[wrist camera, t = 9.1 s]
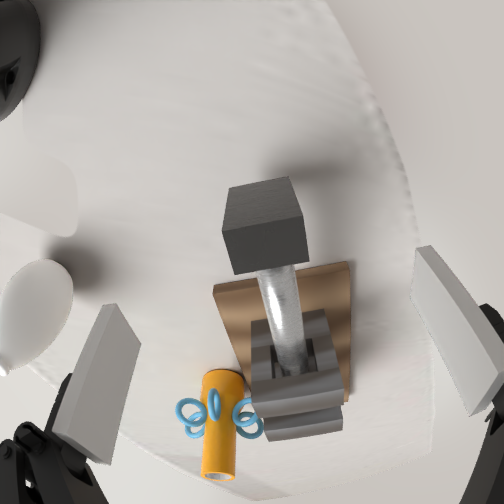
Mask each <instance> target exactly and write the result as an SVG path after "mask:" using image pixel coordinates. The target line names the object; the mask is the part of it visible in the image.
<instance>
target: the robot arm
mask: <svg viewBox="0 0 504 504" xmlns="http://www.w3.org/2000/svg"><path fill="white" fill-rule="evenodd" d="M39 47H40V25H39V19H38V16H37V13H36V11H35V8H34V7H33V5H32V4H31V3H30V2H29V1H28V0H0V121H2V120H3V119H5V118H6V117H7V116H8V115H9V114H11V112H12V111H13V110H14V109H15V108H16V107H17V105H18V104H19V102H20V101H21V99H22V98H23V96H24V94H25V92H26V91H27V88H28V86H29V84H30V82H31V79H32V77H33V74H34V71H35V67H36V64H37V59H38V54H39ZM410 299H411V301H412V302H413V304H414V306H415V308H416V309H417V311H418V313H419V315H420V317H421V318H422V320H423V322H424V324H425V326H426V328H427V329H428V331H429V333H430V335H431V337H432V339H433V341H434V343H435V344H436V346H437V348H438V350H439V352H440V354H441V356H442V358H443V360H444V362H445V364H446V366H447V369H448V371H449V373H450V375H451V377H452V379H453V381H454V383H455V386H456V388H457V390H458V392H459V394H460V397H461V399H462V401H463V403H464V406H465V408H466V410H467V412H468V415H469V417H470V416H472V415H474V414H476V413H479V412H481V411H483V410H485V409H486V408H487V407H488V405H489V404H490V403H491V401H492V402H493V404H494V408H493V410H492V411H491V412H490V414H489V415H488V416H487V418H486V420H485V422H487V421H488V420H489V419H490V422H489V426H488V429H487V432H486V436H485V439H484V442H483V445H482V448H481V451H480V454H479V457H478V460H477V462H476V465H475V468H474V471H473V473H472V476H471V478H470V480H469V483H468V485H467V488H466V490H465V492H464V495H463V497H462V499H461V501H460V503H459V504H504V320H503V319H502V317H501V316H500V314H499V313H498V312H497V311H496V310H495V309H494V308H492V307H491V306H490V305H488V304H484V305H481V306H478V305H477V304H476V302H475V301H474V299H473V298H472V297H471V295H470V294H469V293H468V291H467V290H466V289H465V287H464V286H463V285H462V283H461V282H460V281H459V280H458V278H457V277H456V276H455V274H454V273H453V272H452V270H451V269H450V268H449V267H448V265H447V264H446V263H445V262H444V260H443V259H442V258H441V257H440V256H439V255H438V253H437V252H436V251H435V250H434V248H433V247H432V246H431V245H429V246H424V247H420V248H416V250H415V260H414V270H413V278H412V286H411V293H410ZM140 347H141V343H140V341H139V340H138V338H137V337H136V335H135V333H134V332H133V330H132V329H131V327H130V325H129V324H128V322H127V320H126V319H125V317H124V315H123V314H122V312H121V310H120V309H119V307H118V305H117V304H116V303H114V304H108V305H103V306H102V308H101V310H100V312H99V314H98V317H97V319H96V321H95V323H94V325H93V327H92V330H91V332H90V334H89V336H88V338H87V341H86V343H85V345H84V348H83V350H82V352H81V355H80V357H79V359H78V362H77V364H76V366H75V369H74V371H73V373H69V374H68V376H67V377H66V378H65V379H64V381H63V382H62V384H61V387H60V389H59V392H58V393H59V394H58V395H57V397H56V400H55V403H54V405H53V408H52V410H51V413H50V416H49V418H48V421H47V424H46V427H45V430H44V432H43V431H42V430H40V429H39V428H38V427H37V426H35V425H34V424H33V423H31V422H24V423H22V424H20V426H18V427H17V429H16V431H15V433H14V437H13V441H12V440H10V439H6V440H4V441H2V443H1V444H0V504H109V503H108V501H107V499H106V498H105V496H104V494H103V492H102V490H101V488H100V486H99V484H98V482H97V481H96V478H95V476H94V475H93V472H92V470H91V468H90V466H89V465H88V464H87V463H86V459H87V458H89V459H91V460H92V461H93V462H95V463H99V464H105V465H111V461H112V457H113V452H114V447H115V442H116V438H117V434H118V430H119V425H120V421H121V417H122V413H123V409H124V405H125V401H126V397H127V393H128V390H129V386H130V382H131V378H132V375H133V371H134V368H135V364H136V360H137V357H138V354H139V350H140ZM25 479H26V480H27V481H29V482H31V487H28V486H26V481H25Z"/></svg>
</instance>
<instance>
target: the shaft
mask: <svg viewBox="0 0 504 504" xmlns="http://www.w3.org/2000/svg"><path fill="white" fill-rule="evenodd" d="M222 234H223V237H224V241H225V244H226V247H227V251H228V254H229V258H230V261H231V264H232V268H233V271H234V274H235V275H238V274H243V273H249V272H254V271H256V275H257V279H258V283H259V287H260V291H261V294H262V298H263V302H264V306H265V310H266V314H267V318H268V322H269V326H270V330H271V334H272V338H273V342H274V346H275V350H276V354H277V358H278V362H279V366H280V370H281V374H282V377H288V376H294V375H300V374H306V373H310V369H309V361H308V354H307V347H306V340H305V333H304V326H303V319H302V312H301V306H300V299H299V293H298V287H297V280H296V274H295V268H294V264H298V263H304V262H309V254H308V247H307V239H306V232H305V226H304V219H303V214H302V211H301V209H300V206H299V203H298V200H297V198H296V195H295V192H294V190H293V187H292V184H291V182H290V179H289V176H288V177H282V178H277V179H272V180H267V181H261V182H256V183H251V184H246V185H242V186H237V187H232V188H229V192H228V198H227V203H226V209H225V215H224V221H223V227H222Z"/></svg>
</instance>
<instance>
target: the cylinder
mask: <svg viewBox="0 0 504 504" xmlns="http://www.w3.org/2000/svg"><path fill="white" fill-rule="evenodd" d="M248 403H251V397H249V398H245V399H244V380H243V378H242V377H241V376H240V375H239V374H238V373H236V372H233V371H230V370H213V371H210V372H208V373H207V374H205V375H204V377H203V379H202V387H201V396H200V401H198V400H196V399H193V398H185V399H182V400H180V401H179V402H178V403H177V405H176V409H175V412H176V415H177V418H178V419H179V420H180V421H181V422H182V423H183V424H185V432H186V434H187V435H188V436H189V437H191V438H199V437H201V436H203V435H204V442H203V454H202V466H201V476H202V477H203V478H205V479H209V480H214V481H229V480H233V479H235V457H236V431H237V432H238V433H239V434H240V435H241V436H243V437H245V438H248V439H255V438H258V437H259V436H260V435H261V434H262V433H263V430H264V425H263V422H262V420H261V419H260V418H258V417H257V415H256V413H255V412H254V413H252V412H242V413H240V412H241V410H242V409H243V407H244V405H245V404H248ZM185 404H194V405H196V406H197V407H198V408H199V409H200V410H201V412H196V413H194V414H192V415H191V416H190V417H189V418H188V420H187V419H186V418H185V417H184V416H183V414H182V411H181V410H182V407H183V406H184V405H185ZM198 417H201V418H200V419H199V420H198V421H194V420H195V419H196V418H198ZM243 417H250V419H249V420H247V421H240V420H241V419H242V418H243ZM255 422H256V423H257V424H258V430H257V432H255V433H252V434H250V433H247V432H245V431H244V430H243V429H242V428H241V427H247V426H250V425H252V424H253V423H255ZM202 424H204V425H203V427H202V429H201V430H200V431H198V432H197V433H192V432H191V430H190V427H198V426H201V425H202Z"/></svg>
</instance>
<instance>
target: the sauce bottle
mask: <svg viewBox="0 0 504 504" xmlns="http://www.w3.org/2000/svg"><path fill="white" fill-rule="evenodd" d="M72 301H73V282H72V279H71V277H70V275H69V273H68V272H67V270H66V269H65V268H64V267H63V266H62V265H61V264H59V263H57V262H55V261H53V260H50V259H43V260H38V261H34V262H32V263H30V264H28V265H26V266H24V267H23V268H21V269H20V270H19V271H18V272H17V273H16V274H15V275H14V276H13V277H12V278H11V279H10V281H9V282H8V283H7V285H6V286H5V288H4V289H3V291H2V293H1V294H0V375H2V376H6V375H8V374H9V372H10V370H14V369H17V368H20V367H22V366H24V365H26V364H28V363H29V362H31V361H32V360H34V359H35V358H36V357H38V356H39V355H40V354H41V353H43V352H44V351H45V350H46V349H47V348H48V347H49V346H50V345H51V343H52V342H53V341H54V340H55V338H56V337H57V336H58V334H59V333H60V331H61V330H62V328H63V326H64V325H65V323H66V320H67V318H68V316H69V313H70V310H71V307H72Z"/></svg>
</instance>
